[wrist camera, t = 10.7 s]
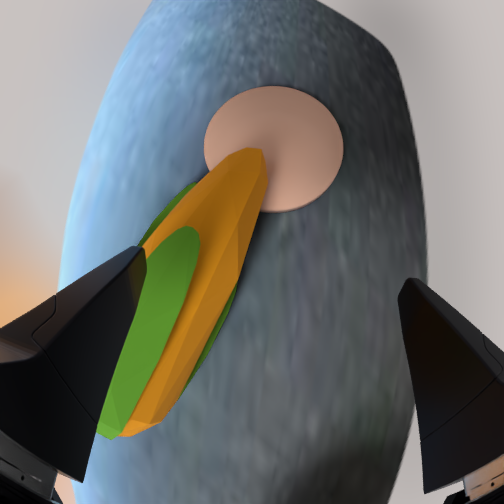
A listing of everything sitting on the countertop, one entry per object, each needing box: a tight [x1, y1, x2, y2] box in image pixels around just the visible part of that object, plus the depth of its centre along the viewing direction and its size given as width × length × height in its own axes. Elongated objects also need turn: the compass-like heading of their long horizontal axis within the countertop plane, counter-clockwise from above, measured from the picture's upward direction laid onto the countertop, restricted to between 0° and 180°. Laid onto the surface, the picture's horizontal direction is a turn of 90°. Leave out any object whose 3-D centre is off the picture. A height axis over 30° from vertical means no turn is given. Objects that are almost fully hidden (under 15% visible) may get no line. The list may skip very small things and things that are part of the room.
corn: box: [96, 147, 268, 440], centre depth 15 cm, size 7×8×20 cm
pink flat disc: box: [204, 86, 343, 213], centre depth 19 cm, size 9×9×1 cm
